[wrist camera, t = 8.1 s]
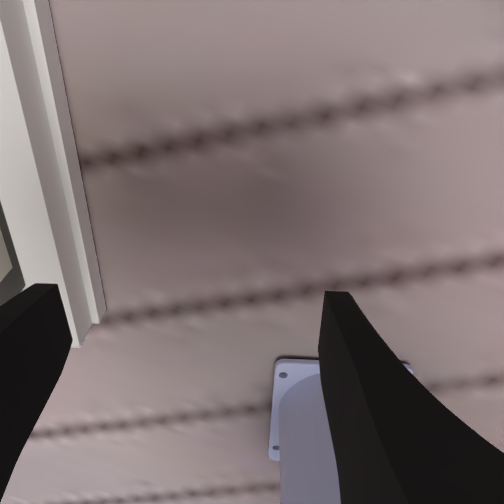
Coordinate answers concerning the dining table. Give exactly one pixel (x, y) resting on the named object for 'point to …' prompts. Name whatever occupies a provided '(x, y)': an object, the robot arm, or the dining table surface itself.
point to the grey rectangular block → (8, 264)
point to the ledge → (44, 167)
